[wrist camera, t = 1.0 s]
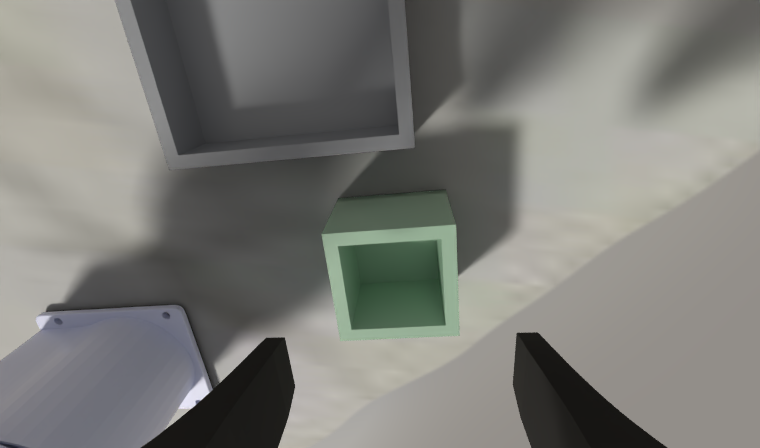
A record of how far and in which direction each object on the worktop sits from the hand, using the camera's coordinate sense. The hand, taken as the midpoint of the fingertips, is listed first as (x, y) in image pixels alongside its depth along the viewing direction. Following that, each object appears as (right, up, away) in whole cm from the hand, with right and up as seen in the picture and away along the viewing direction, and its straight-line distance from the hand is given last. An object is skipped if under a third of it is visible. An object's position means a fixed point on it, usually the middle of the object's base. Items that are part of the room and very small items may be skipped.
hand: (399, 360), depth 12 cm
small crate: (0, +3, +9) cm, 9 cm away
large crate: (-5, +13, +5) cm, 15 cm away
